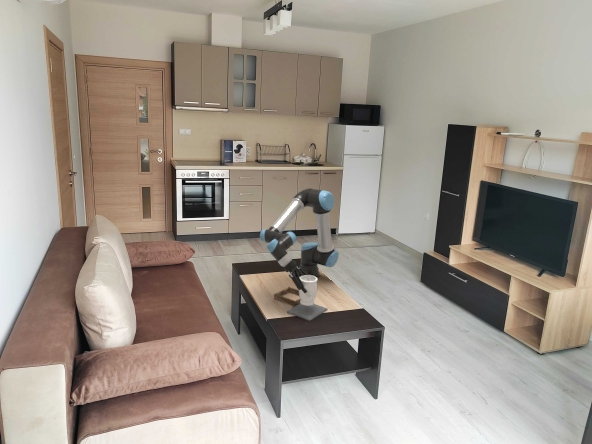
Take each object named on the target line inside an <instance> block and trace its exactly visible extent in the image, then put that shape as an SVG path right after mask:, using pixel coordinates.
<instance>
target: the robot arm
mask: <svg viewBox="0 0 592 444" xmlns="http://www.w3.org/2000/svg"><path fill="white" fill-rule="evenodd" d="M290 201H291V202H290V203H289V204H288V206H286V208H285V209H284V210H283V211H282V212H281V214H280V215H279V216H278V217H277V219H275V221H274V222H273V223H272V224H271V226H270V227H268V229H266V228H265V229H262V230H261V231H260V234H259V239H260V241H262V242H263V243H266V246H265V247H266V249H267V251H268V252H269V253H270V255H271V256H272V257H273V258H274V259H275V260H276V262H277V263H278V264H279V265H280V266H281V267H283V270H284V271H285V272H286V273H290V274H288V277H289V278H290V279H291V280H292V282H293V284H294V286H296V289H297V290H302V291H303V292H304V294H305V295H306V296H307V297H308V298H309V297H311V296H312V294H311V293H310V292H309V291H308V289H307V288H306V287H305V286H303V284H302V282H301V280H300V277H301V276H304V275H311V276H315V277H317V279H318V278H319V277H320V269H319V266H318V265H321V266H324V267H328V268H333V267H334V266H335V265H336V264H337V262H338V259H339V257H340V256H339V255H340V254H339V251H337V250H335V246H334V244H333V243H332V233H331V232H332V231H331V222H330V221H331V220H330V219H331V218H330V212H332V210H333V208H334V206H335V196H334V195H333V193H331V191H327V190H324V189H323V190H322V189H316V188H310V187H309V188H305V189H302V190H301V191H299V192H298V193H296V194H295V195H294V196H293V197H292V198H291V200H290ZM306 207H310V208H312V213H313V214H315V221H316V231H317V239H318V240H317V241H318V242H313V241H311V242H310V241H309V242H305V243H303V244H301V248H300V264H299V265H297V262H296V261H295V260H294V259H293V258H292V256H291V255H290V253H288V251H287V250H288V249H289V248H291V247H292V246H293V245H294V244H295V243H296V241H297V236H296V234H295V233H294V232H293V231H287V232H285V233H283V232H284V230H285V229H287V226H288V225H289V224H290V223H292V221H293V219H294V218H295V217H296V216H297V215H298V214H299V212H300V211H302V210H304V209H305V208H306Z"/></svg>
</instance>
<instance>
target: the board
mask: <svg viewBox="0 0 592 444" xmlns="http://www.w3.org/2000/svg"><path fill="white" fill-rule="evenodd" d="M326 311H328V307H324V306H321V305H319V304H315V303H314V304H313V305H310V306H306V305H302V304H301V303H300V304H298V305H296V306H292V307H291V308H289V309H287V310H286V313H287V314H291V315H292V316H296V317H299V318H300V319H303V320H306V321H309V322H310V321H312V320H314V319H315V318H317V317H319V316H321V315H322V314H323V313H325V312H326Z"/></svg>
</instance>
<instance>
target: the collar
mask: <svg viewBox="0 0 592 444" xmlns="http://www.w3.org/2000/svg"><path fill="white" fill-rule="evenodd" d="M289 293H290V294H293V295H296V296H299V290H298V288H294V287H291V286H288V287H286V288H284V289H282V290H279V291H278V292H275V293H274V294H273V300H275V301H277V302H278V301H279V302H282V303H284V304H287V305H290V306H292V307H295V306H296V305H298V304H300V300H301V299H300V297H299V298H297V299H296V300H294V299H291V298H289V297H286V296H285V295H287V294H289ZM284 296H285V297H284Z"/></svg>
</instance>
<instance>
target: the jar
mask: <svg viewBox="0 0 592 444" xmlns="http://www.w3.org/2000/svg"><path fill="white" fill-rule="evenodd" d="M299 278H300V280H301V282H302V284H303V286H305V287H306V288H307V289H308V291H309V292H310V293H311V294H312V296H311V297H309V298H308V297H307V296H306V295H305V294H304V292H303V291H302V290H299V295H298V296H299V298H300V299H301V300H300V303H301V304H302V305H306V306H310V305H313V304H315V299H316V296H317V291H318V278H317V277H315V276H311V275H304V276H301V277H299Z"/></svg>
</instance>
